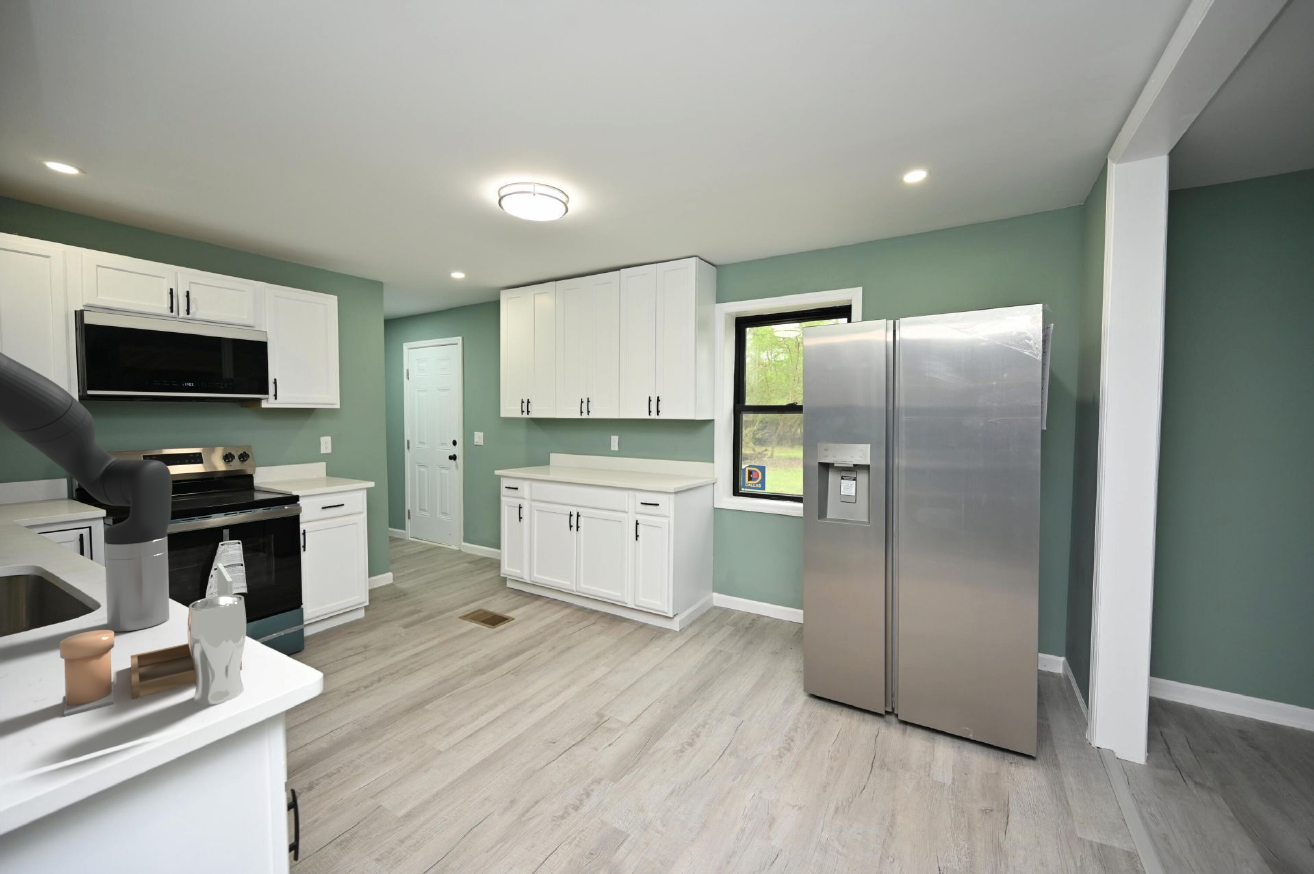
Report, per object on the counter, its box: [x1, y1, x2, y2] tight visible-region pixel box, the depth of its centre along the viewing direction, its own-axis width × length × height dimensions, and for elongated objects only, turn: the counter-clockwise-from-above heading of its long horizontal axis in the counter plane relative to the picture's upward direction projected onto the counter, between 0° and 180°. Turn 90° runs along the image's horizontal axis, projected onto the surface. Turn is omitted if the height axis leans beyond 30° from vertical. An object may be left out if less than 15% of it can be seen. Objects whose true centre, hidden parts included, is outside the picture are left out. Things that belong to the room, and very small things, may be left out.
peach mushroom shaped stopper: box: [59, 629, 115, 705], centre depth 82 cm, size 6×6×9 cm
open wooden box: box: [130, 642, 243, 700], centre depth 92 cm, size 14×13×12 cm
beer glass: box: [187, 594, 247, 707], centre depth 84 cm, size 7×7×15 cm
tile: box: [63, 681, 115, 717], centre depth 83 cm, size 8×5×1 cm, turn 44°
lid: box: [216, 562, 234, 596], centre depth 96 cm, size 14×1×9 cm, turn 44°
